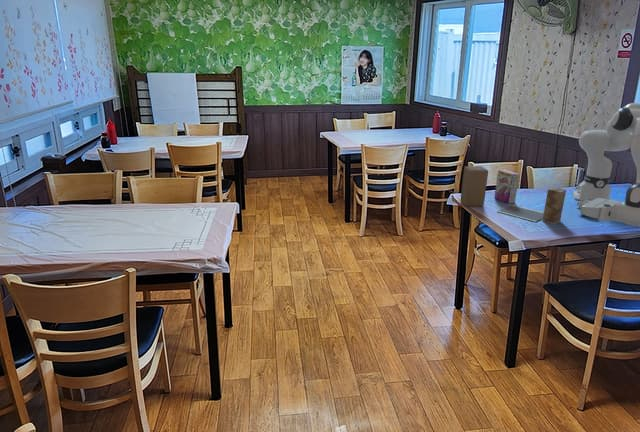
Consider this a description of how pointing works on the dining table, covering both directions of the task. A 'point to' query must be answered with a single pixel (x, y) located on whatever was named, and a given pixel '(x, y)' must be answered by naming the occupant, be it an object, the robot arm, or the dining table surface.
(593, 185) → the robot arm
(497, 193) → the candy bar box
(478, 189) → the wooden block
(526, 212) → the grey flat plate
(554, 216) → the walnut block
